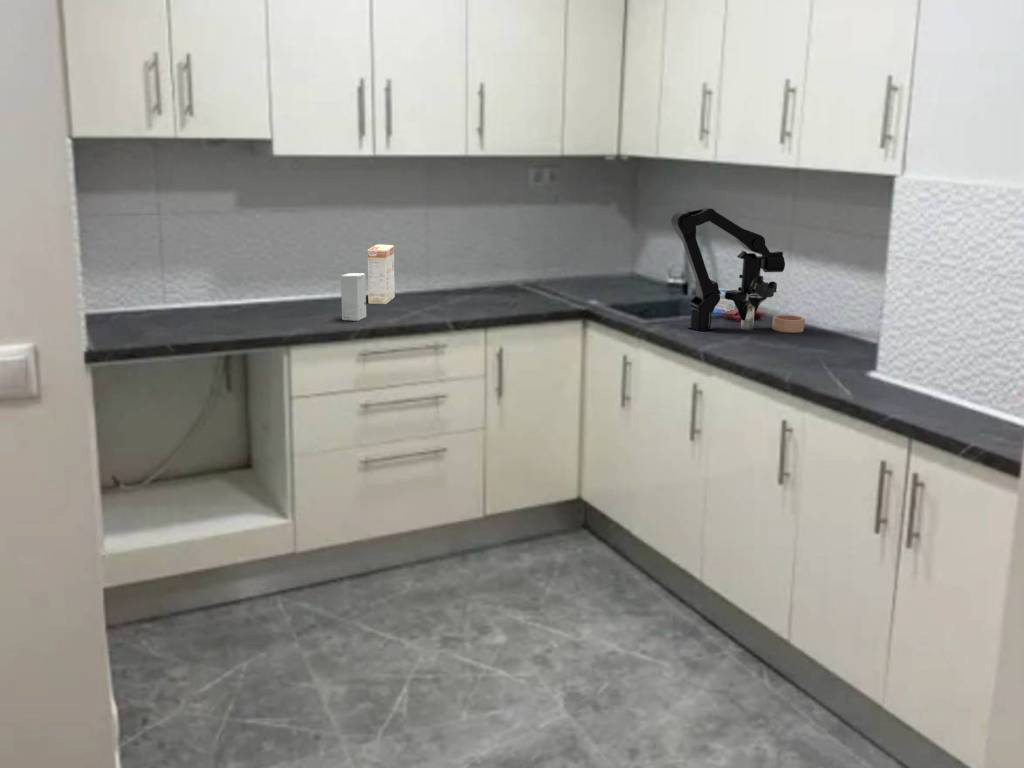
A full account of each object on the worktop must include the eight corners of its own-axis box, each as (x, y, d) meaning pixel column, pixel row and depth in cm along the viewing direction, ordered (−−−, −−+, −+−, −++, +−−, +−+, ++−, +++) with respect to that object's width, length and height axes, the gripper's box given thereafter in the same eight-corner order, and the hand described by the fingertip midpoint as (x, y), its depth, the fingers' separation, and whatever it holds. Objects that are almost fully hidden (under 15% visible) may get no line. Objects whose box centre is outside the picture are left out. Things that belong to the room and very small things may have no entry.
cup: (791, 333, 336) (792, 321, 335) (766, 328, 343) (767, 316, 342) (809, 330, 342) (810, 318, 341) (784, 325, 349) (785, 313, 348)
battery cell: (747, 330, 340) (749, 304, 338) (738, 328, 343) (740, 303, 341) (755, 328, 343) (757, 303, 341) (745, 326, 346) (747, 301, 344)
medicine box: (712, 313, 369) (714, 289, 367) (716, 311, 373) (718, 287, 371) (734, 315, 366) (736, 291, 363) (737, 313, 369) (739, 289, 367)
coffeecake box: (376, 296, 386) (376, 244, 381) (395, 297, 385) (395, 244, 380) (367, 303, 371) (366, 249, 367) (386, 304, 371) (386, 249, 366)
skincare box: (358, 321, 339) (357, 276, 335) (340, 320, 340) (340, 275, 337) (366, 316, 347) (366, 272, 343) (349, 315, 348) (349, 271, 345)
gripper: (753, 277, 327) (749, 326, 330) (789, 273, 338) (785, 320, 342) (725, 273, 335) (721, 320, 339) (761, 269, 346) (757, 315, 350)
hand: (747, 319), depth 342 cm, fingers open, 4 cm apart
